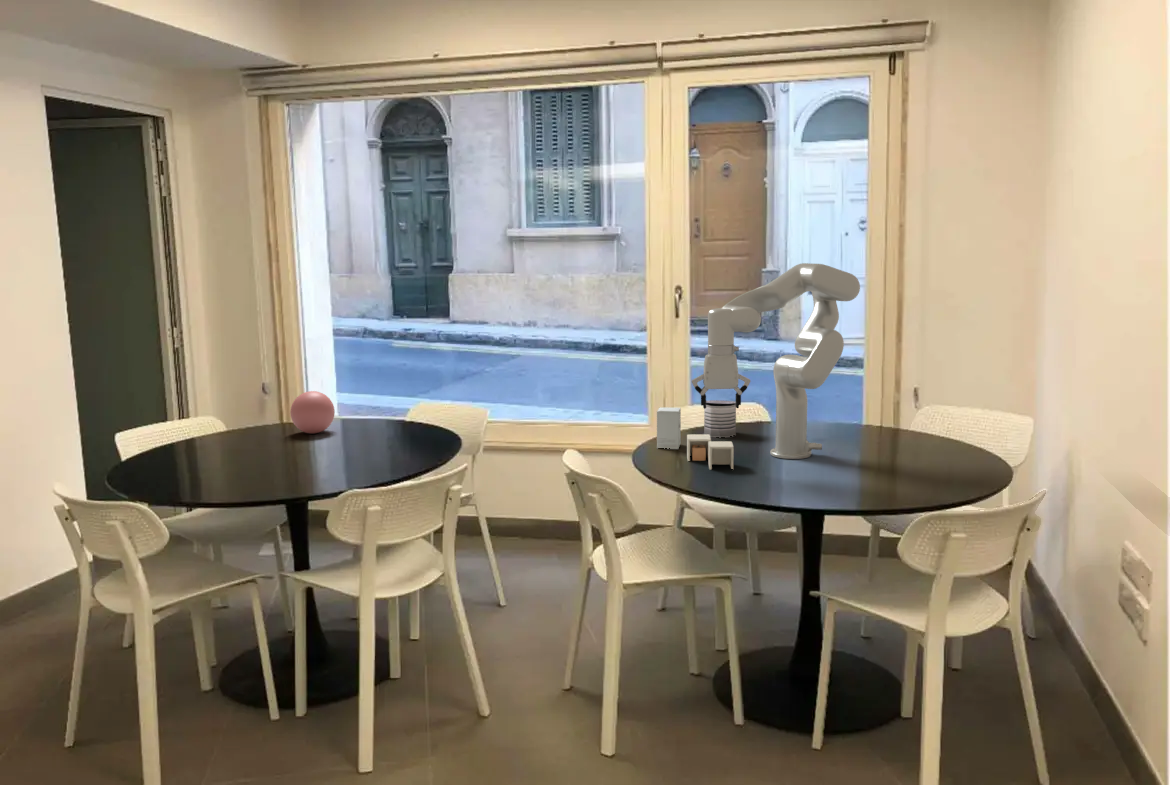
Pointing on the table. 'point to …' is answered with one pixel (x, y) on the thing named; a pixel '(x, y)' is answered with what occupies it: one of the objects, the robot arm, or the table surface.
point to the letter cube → (698, 452)
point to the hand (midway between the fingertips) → (720, 407)
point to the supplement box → (669, 428)
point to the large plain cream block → (697, 442)
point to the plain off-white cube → (720, 453)
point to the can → (720, 418)
